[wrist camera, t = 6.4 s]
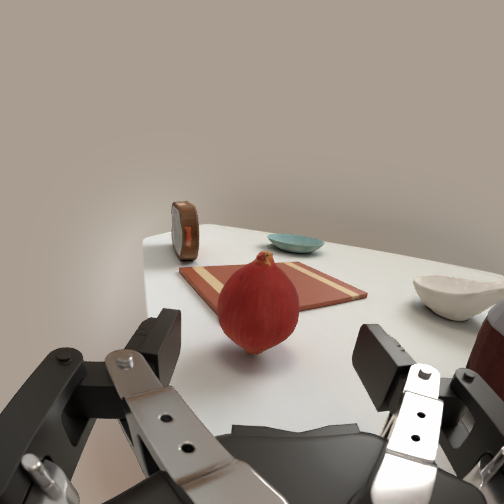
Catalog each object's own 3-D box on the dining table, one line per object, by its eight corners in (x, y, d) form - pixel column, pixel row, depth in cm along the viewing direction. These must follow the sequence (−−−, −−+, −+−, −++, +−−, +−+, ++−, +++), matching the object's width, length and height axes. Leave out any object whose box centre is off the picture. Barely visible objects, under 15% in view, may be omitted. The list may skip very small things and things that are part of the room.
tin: (199, 266, 41) (203, 207, 39) (177, 266, 40) (181, 206, 38) (184, 243, 55) (187, 199, 53) (168, 243, 54) (170, 198, 52)
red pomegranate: (212, 333, 23) (218, 238, 22) (278, 333, 25) (292, 243, 23) (218, 375, 18) (227, 259, 16) (300, 372, 19) (322, 263, 17)
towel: (225, 323, 25) (225, 317, 25) (178, 271, 38) (179, 267, 38) (366, 297, 35) (368, 292, 35) (297, 265, 48) (298, 261, 48)
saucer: (265, 252, 54) (267, 240, 54) (266, 240, 66) (267, 231, 65) (327, 259, 54) (329, 248, 53) (317, 247, 65) (319, 237, 65)
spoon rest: (393, 305, 33) (406, 250, 32) (426, 291, 40) (437, 247, 38) (550, 374, 14) (576, 310, 13) (549, 341, 21) (566, 291, 19)
